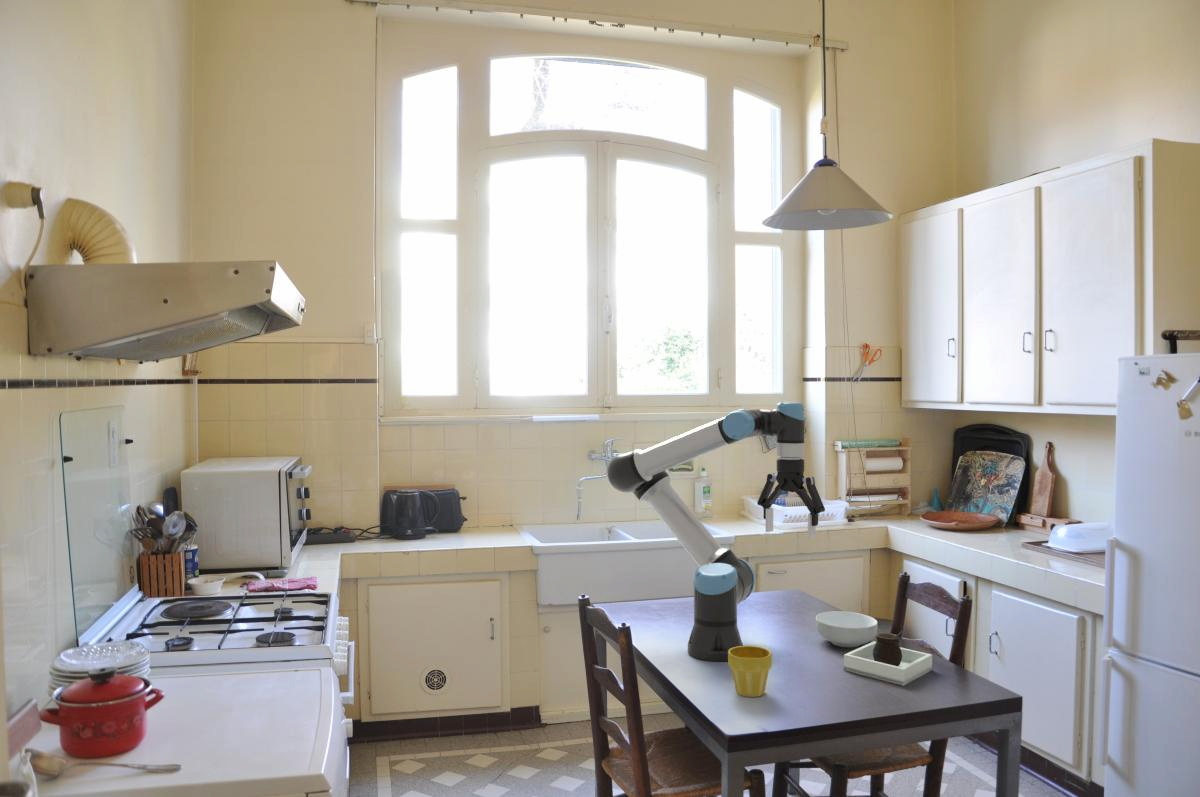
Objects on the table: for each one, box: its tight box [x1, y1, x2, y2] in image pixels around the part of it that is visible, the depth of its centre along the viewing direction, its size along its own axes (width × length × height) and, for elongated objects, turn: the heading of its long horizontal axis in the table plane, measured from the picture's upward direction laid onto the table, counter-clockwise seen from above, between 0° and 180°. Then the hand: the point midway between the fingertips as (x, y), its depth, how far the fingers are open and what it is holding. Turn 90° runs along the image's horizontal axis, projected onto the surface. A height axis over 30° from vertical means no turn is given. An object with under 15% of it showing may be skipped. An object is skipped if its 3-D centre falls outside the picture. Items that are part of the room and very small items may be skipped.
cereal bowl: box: [815, 610, 878, 648], centre depth 242 cm, size 17×17×7 cm
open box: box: [843, 640, 933, 687], centre depth 219 cm, size 16×16×4 cm
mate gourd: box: [873, 629, 905, 667], centre depth 219 cm, size 7×8×10 cm
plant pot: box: [727, 645, 773, 698], centre depth 204 cm, size 10×10×10 cm
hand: (790, 534), depth 237 cm, fingers open, 13 cm apart
